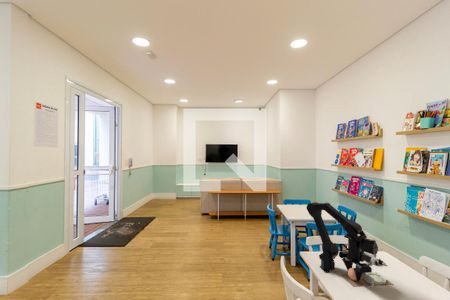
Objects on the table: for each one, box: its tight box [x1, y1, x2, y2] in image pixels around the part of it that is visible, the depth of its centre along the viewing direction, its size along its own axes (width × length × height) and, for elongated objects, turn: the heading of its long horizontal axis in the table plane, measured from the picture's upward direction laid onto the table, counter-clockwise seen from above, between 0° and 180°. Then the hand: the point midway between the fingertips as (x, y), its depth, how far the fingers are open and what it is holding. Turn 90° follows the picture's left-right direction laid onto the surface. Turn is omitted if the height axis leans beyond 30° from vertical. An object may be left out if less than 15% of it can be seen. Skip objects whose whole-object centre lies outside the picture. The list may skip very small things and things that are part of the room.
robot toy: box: [364, 252, 387, 266], centre depth 143 cm, size 12×4×15 cm
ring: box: [367, 272, 387, 284], centre depth 121 cm, size 9×9×1 cm
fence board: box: [339, 272, 395, 288], centre depth 120 cm, size 22×12×4 cm, turn 95°
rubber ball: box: [347, 267, 357, 281], centre depth 120 cm, size 6×6×6 cm
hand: (354, 277), depth 120 cm, fingers closed on rubber ball, 6 cm apart
